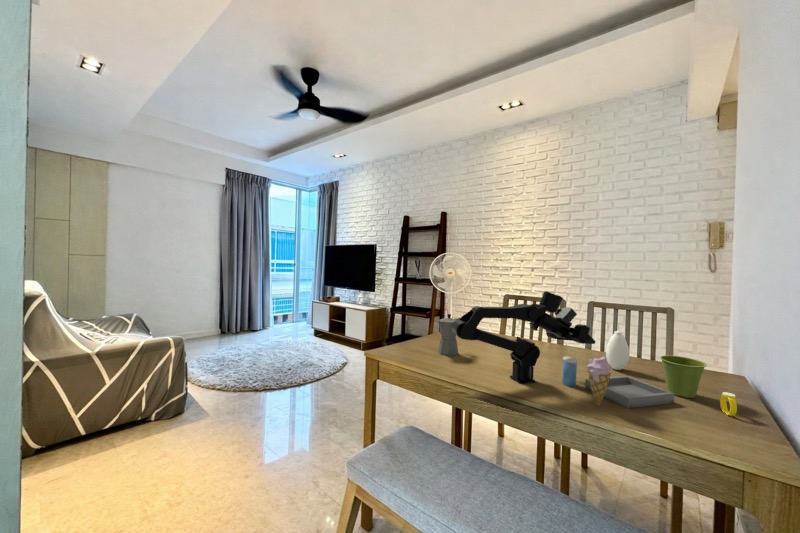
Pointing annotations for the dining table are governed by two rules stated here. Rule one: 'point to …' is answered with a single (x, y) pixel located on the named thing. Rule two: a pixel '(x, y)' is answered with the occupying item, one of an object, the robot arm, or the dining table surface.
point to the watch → (731, 400)
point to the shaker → (569, 371)
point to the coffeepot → (447, 337)
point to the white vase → (617, 351)
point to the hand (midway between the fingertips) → (585, 341)
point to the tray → (634, 392)
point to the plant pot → (682, 375)
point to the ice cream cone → (599, 377)
